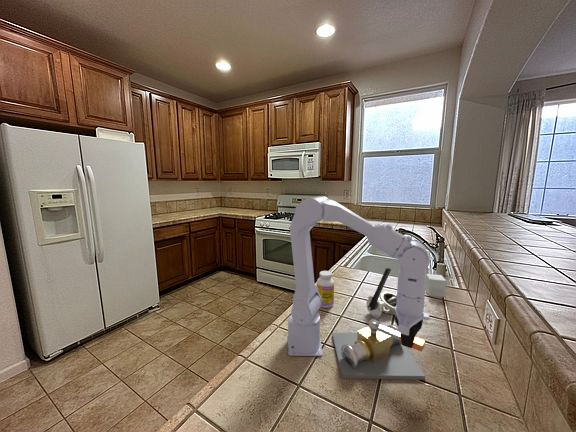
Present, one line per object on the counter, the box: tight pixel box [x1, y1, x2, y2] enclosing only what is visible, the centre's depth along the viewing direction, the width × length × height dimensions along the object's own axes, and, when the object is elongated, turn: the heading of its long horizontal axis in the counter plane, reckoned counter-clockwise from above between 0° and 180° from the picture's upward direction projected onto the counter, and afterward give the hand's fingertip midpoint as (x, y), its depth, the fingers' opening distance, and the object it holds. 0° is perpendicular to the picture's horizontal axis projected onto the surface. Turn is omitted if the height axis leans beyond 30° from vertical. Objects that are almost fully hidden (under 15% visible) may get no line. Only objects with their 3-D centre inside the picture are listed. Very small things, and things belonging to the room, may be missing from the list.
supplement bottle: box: [316, 270, 335, 309], centre depth 91 cm, size 7×7×13 cm
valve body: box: [341, 324, 402, 369], centre depth 65 cm, size 18×6×8 cm, turn 118°
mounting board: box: [332, 332, 426, 381], centre depth 65 cm, size 20×16×1 cm
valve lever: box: [367, 318, 426, 352], centre depth 60 cm, size 13×3×2 cm, turn 47°
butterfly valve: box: [366, 267, 397, 320], centre depth 83 cm, size 9×20×17 cm
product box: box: [425, 273, 447, 298], centre depth 99 cm, size 6×6×7 cm
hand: (407, 345), depth 57 cm, fingers closed, pressing on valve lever
